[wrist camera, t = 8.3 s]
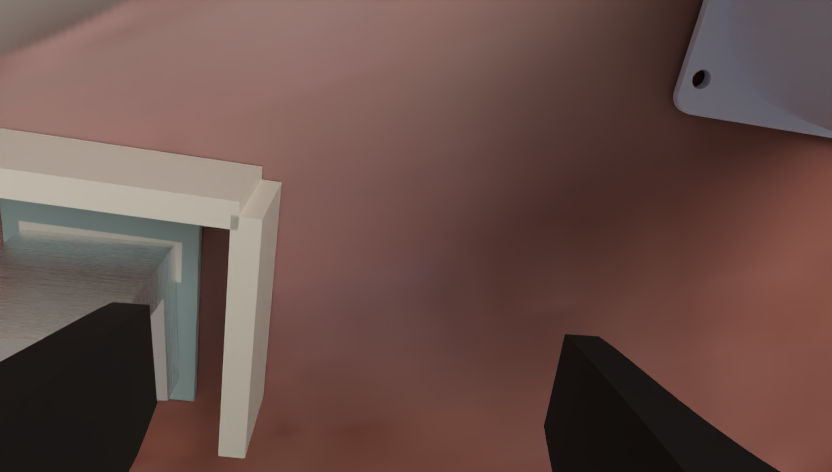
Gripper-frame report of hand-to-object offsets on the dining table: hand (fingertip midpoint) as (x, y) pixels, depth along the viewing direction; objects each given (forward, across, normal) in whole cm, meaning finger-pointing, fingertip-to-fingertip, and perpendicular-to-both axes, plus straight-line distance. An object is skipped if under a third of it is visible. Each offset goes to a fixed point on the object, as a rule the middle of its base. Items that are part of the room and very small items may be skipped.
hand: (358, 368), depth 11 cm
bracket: (+9, +8, +4) cm, 13 cm away
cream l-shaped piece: (+9, +7, +4) cm, 12 cm away
